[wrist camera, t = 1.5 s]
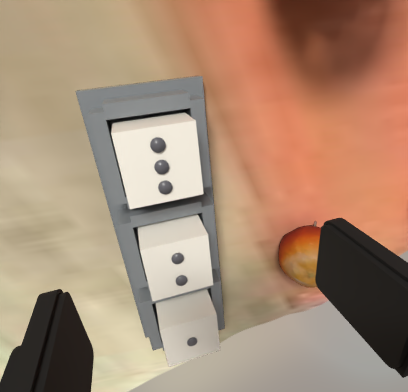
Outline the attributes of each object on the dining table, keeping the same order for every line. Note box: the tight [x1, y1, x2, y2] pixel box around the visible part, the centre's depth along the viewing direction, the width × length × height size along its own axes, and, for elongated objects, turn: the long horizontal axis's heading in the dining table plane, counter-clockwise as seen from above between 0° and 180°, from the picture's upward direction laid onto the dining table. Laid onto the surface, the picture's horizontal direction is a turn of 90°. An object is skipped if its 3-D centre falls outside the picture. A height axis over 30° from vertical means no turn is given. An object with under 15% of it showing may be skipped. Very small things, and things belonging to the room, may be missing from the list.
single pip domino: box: [156, 289, 220, 367], centre depth 32 cm, size 6×6×4 cm
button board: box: [76, 76, 225, 351], centre depth 30 cm, size 11×31×4 cm, turn 6°
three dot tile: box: [111, 112, 204, 209], centre depth 23 cm, size 6×6×4 cm
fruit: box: [279, 221, 321, 287], centre depth 36 cm, size 8×8×8 cm
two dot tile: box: [138, 214, 213, 301], centre depth 27 cm, size 6×6×4 cm
